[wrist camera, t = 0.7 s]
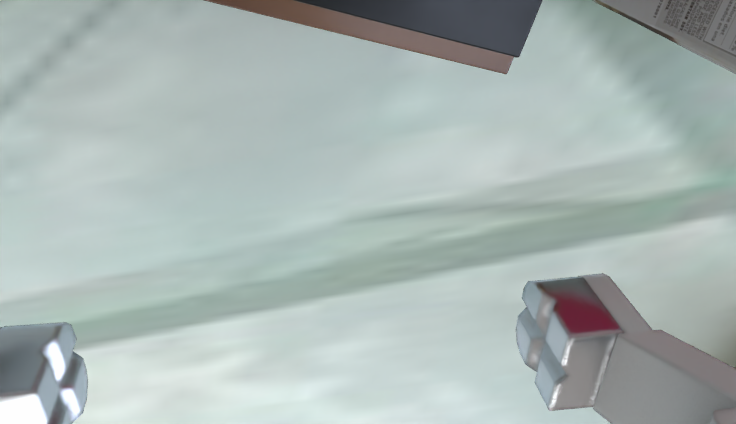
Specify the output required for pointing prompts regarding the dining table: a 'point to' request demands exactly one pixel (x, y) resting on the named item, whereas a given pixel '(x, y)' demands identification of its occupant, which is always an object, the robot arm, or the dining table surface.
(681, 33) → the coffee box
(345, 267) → the dining table surface
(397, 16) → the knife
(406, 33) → the cutting board
